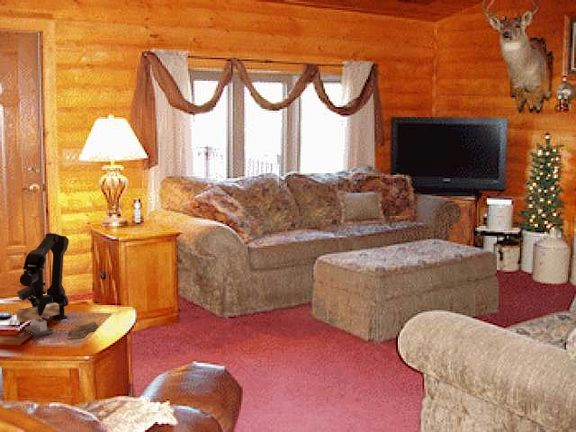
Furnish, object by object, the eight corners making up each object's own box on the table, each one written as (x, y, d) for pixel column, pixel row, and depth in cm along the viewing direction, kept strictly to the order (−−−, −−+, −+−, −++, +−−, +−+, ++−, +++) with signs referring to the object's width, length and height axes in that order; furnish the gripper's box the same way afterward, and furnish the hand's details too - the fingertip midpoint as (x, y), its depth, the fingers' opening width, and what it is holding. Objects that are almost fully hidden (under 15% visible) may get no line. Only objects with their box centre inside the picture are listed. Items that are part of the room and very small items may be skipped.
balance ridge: (24, 330, 323) (23, 317, 322) (41, 326, 328) (41, 314, 327) (35, 336, 314) (35, 323, 313) (53, 333, 320) (52, 320, 319)
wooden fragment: (80, 341, 311) (80, 339, 310) (57, 339, 313) (57, 336, 313) (107, 323, 335) (107, 321, 335) (86, 322, 338) (86, 319, 338)
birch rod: (55, 312, 328) (55, 302, 327) (59, 314, 325) (58, 304, 324) (16, 320, 316) (16, 310, 315) (20, 322, 313) (19, 312, 312)
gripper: (10, 279, 319) (11, 313, 321) (27, 288, 305) (29, 323, 308) (34, 275, 326) (35, 308, 329) (52, 283, 313) (54, 318, 316)
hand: (38, 314), depth 320 cm, fingers closed on birch rod, 4 cm apart
